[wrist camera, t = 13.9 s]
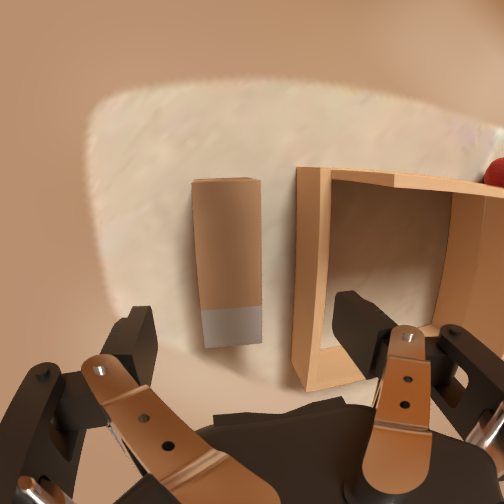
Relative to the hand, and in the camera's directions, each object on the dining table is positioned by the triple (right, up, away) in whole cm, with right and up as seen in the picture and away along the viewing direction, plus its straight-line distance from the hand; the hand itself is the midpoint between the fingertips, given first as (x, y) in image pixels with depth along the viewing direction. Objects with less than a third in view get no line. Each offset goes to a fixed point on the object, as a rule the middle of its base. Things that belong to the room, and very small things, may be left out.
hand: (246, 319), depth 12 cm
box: (-2, +3, +12) cm, 12 cm away
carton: (+14, +1, +15) cm, 20 cm away
